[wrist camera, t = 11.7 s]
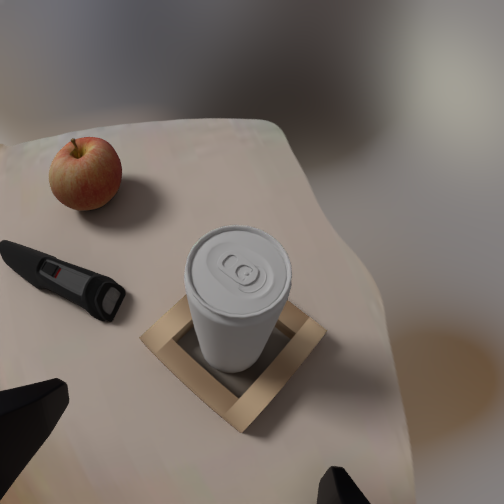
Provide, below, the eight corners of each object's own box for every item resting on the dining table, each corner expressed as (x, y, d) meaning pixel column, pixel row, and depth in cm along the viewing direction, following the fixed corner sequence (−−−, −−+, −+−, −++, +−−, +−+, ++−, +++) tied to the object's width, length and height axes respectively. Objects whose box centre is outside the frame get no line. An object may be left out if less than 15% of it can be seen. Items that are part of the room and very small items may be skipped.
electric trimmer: (21, 243, 27) (8, 226, 24) (129, 290, 25) (118, 272, 23) (5, 271, 25) (-10, 255, 22) (111, 327, 23) (97, 313, 20)
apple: (58, 190, 30) (36, 139, 24) (116, 164, 33) (103, 109, 27) (69, 237, 27) (39, 182, 21) (136, 205, 30) (121, 144, 23)
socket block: (240, 432, 19) (241, 433, 18) (145, 345, 22) (139, 337, 21) (319, 338, 24) (327, 330, 22) (229, 267, 27) (229, 254, 25)
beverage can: (234, 387, 21) (247, 345, 11) (186, 346, 22) (158, 270, 12) (273, 341, 23) (316, 263, 13) (227, 304, 25) (233, 205, 15)
